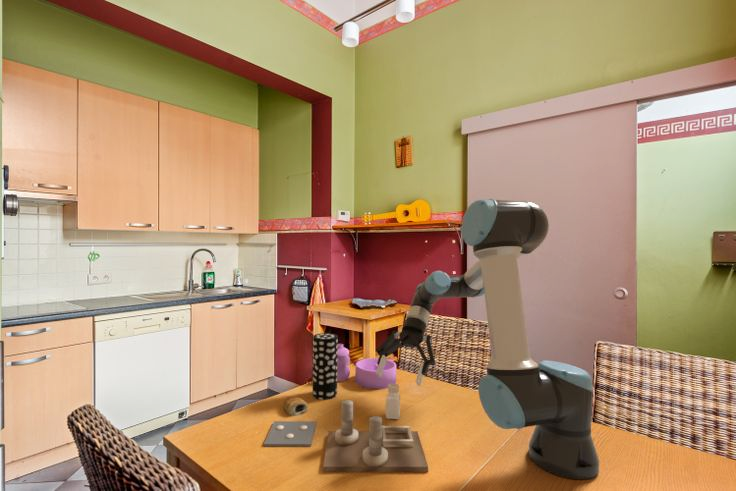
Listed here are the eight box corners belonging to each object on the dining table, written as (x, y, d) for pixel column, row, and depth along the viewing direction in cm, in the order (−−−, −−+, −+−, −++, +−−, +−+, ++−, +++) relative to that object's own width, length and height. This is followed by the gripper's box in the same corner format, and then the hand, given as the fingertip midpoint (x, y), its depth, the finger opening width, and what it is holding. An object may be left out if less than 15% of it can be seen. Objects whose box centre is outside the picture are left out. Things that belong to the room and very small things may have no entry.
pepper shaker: (385, 419, 112) (386, 387, 111) (386, 413, 116) (387, 382, 115) (399, 420, 111) (399, 388, 111) (399, 414, 115) (400, 383, 115)
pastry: (277, 406, 120) (278, 394, 120) (297, 401, 124) (297, 390, 124) (290, 418, 112) (290, 405, 112) (310, 412, 116) (310, 400, 116)
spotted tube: (332, 401, 124) (333, 340, 123) (308, 398, 125) (309, 338, 125) (339, 391, 132) (340, 334, 132) (317, 388, 134) (317, 332, 133)
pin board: (417, 435, 102) (417, 396, 102) (427, 471, 86) (428, 425, 86) (328, 435, 102) (329, 396, 102) (323, 471, 86) (323, 425, 86)
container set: (397, 375, 148) (397, 342, 148) (394, 390, 133) (395, 353, 133) (334, 371, 152) (335, 338, 151) (325, 386, 136) (326, 349, 136)
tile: (316, 423, 108) (316, 420, 108) (310, 446, 97) (310, 442, 96) (274, 423, 108) (274, 420, 108) (263, 446, 96) (263, 442, 96)
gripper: (453, 333, 127) (438, 393, 114) (387, 324, 139) (366, 377, 126) (449, 320, 122) (433, 381, 109) (380, 312, 134) (358, 366, 122)
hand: (397, 379), depth 118 cm, fingers open, 13 cm apart
